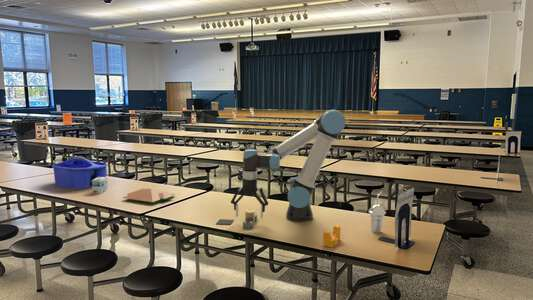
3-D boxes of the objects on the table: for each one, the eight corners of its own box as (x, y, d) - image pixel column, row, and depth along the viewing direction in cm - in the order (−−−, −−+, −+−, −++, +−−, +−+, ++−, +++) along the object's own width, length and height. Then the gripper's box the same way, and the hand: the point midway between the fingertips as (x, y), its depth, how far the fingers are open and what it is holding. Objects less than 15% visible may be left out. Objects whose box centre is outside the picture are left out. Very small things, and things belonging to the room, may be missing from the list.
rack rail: (257, 219, 210) (257, 212, 210) (252, 228, 194) (252, 221, 194) (248, 218, 211) (248, 212, 210) (242, 228, 195) (242, 221, 195)
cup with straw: (364, 229, 193) (365, 191, 191) (378, 227, 197) (379, 190, 194) (375, 235, 185) (376, 195, 183) (389, 232, 189) (391, 193, 186)
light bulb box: (101, 194, 266) (100, 179, 264) (92, 194, 266) (91, 179, 264) (108, 191, 276) (107, 176, 275) (99, 191, 276) (98, 176, 275)
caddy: (81, 179, 320) (80, 152, 317) (117, 184, 298) (115, 155, 295) (44, 186, 293) (42, 156, 290) (80, 193, 271) (78, 161, 268)
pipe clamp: (331, 247, 170) (331, 233, 169) (323, 245, 172) (323, 231, 171) (343, 240, 179) (343, 227, 178) (335, 238, 182) (335, 225, 181)
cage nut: (255, 222, 205) (255, 209, 204) (253, 225, 200) (253, 212, 199) (247, 221, 206) (247, 209, 205) (245, 225, 200) (245, 212, 199)
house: (156, 207, 235) (155, 194, 234) (117, 201, 249) (116, 189, 248) (179, 199, 255) (178, 187, 254) (142, 194, 269) (141, 183, 268)
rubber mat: (233, 220, 208) (233, 219, 208) (230, 225, 200) (230, 224, 200) (219, 219, 209) (219, 219, 209) (215, 224, 201) (215, 223, 201)
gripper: (273, 178, 202) (272, 216, 204) (228, 175, 205) (228, 213, 208) (272, 181, 194) (271, 220, 197) (225, 178, 198) (225, 217, 200)
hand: (249, 217), depth 202 cm, fingers open, 13 cm apart
